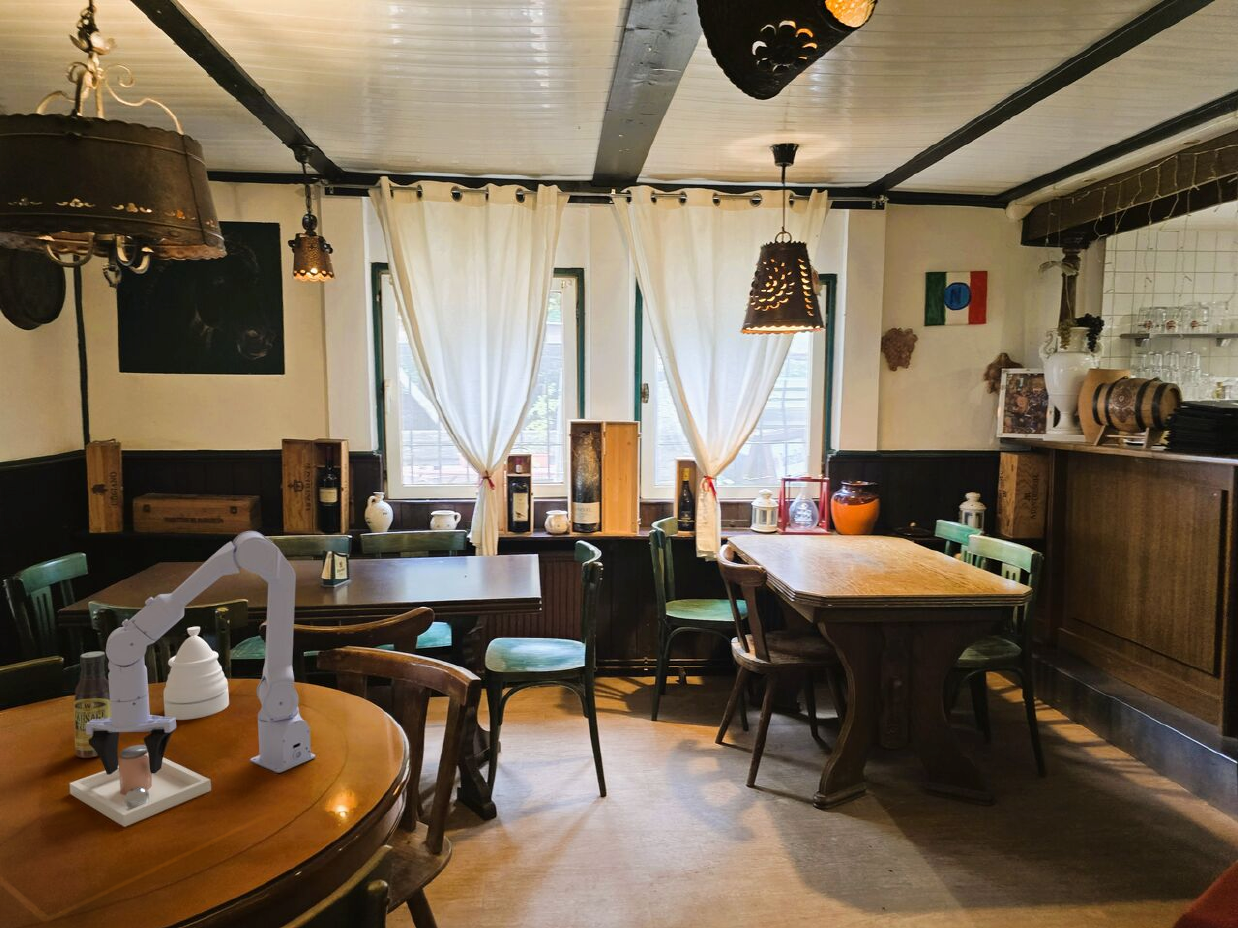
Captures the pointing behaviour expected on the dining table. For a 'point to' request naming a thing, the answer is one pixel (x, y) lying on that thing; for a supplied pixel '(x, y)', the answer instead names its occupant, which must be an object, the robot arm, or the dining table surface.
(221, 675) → the honey pot
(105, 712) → the sauce bottle
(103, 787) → the dish
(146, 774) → the shaker
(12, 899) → the dining table surface
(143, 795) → the mixing ball
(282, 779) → the dining table surface
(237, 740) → the dining table surface
